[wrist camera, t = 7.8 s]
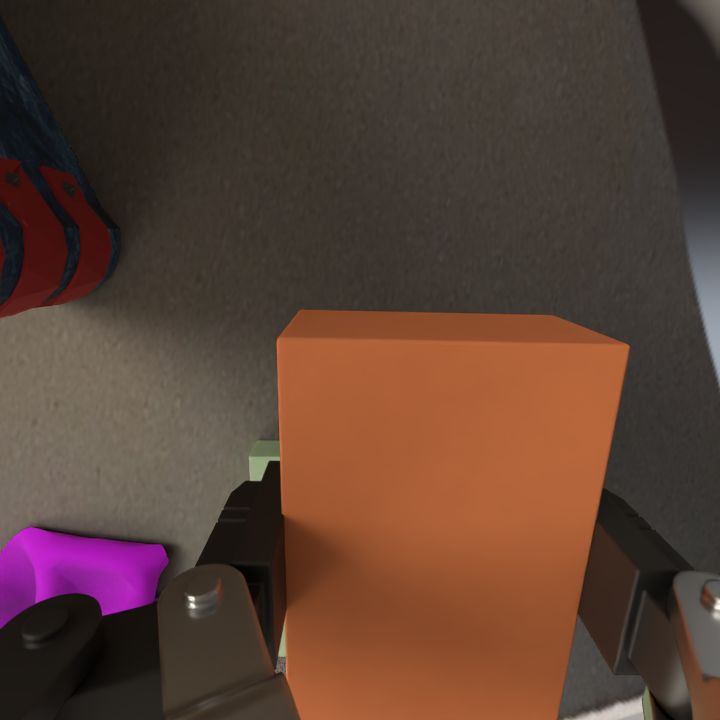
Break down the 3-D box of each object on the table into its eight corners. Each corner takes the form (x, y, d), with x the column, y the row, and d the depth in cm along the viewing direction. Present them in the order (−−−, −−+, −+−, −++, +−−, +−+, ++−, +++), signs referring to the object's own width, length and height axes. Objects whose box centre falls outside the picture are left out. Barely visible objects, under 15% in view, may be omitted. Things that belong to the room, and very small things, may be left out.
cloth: (123, 480, 26) (55, 551, 20) (274, 689, 31) (254, 796, 25) (-156, 613, 29) (-289, 710, 23) (20, 787, 33) (-52, 906, 27)
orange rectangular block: (555, 314, 10) (633, 345, 7) (510, 621, 13) (555, 735, 10) (298, 308, 10) (275, 337, 7) (303, 619, 13) (287, 732, 10)
